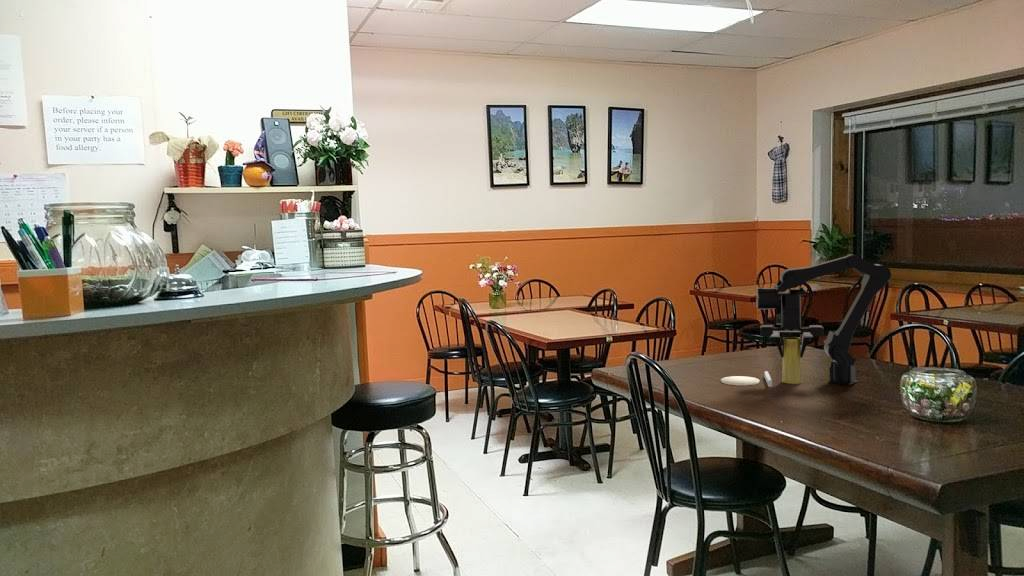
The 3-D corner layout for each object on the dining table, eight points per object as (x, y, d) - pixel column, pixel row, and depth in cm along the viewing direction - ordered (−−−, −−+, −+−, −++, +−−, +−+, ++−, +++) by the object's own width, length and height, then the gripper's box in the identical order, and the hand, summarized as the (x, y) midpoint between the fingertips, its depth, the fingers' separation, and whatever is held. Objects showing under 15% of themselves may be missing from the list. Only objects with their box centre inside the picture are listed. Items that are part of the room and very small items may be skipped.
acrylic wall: (764, 377, 230) (764, 371, 230) (767, 377, 230) (767, 371, 230) (768, 386, 217) (768, 380, 217) (771, 386, 217) (771, 380, 216)
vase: (805, 383, 218) (805, 339, 217) (785, 384, 218) (785, 339, 217) (797, 379, 224) (797, 336, 223) (778, 380, 224) (778, 337, 223)
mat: (766, 380, 225) (766, 379, 225) (746, 387, 217) (746, 385, 217) (734, 376, 234) (734, 374, 234) (713, 382, 226) (713, 380, 226)
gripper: (821, 305, 224) (821, 353, 225) (760, 306, 230) (760, 352, 232) (823, 309, 213) (824, 359, 215) (759, 310, 220) (760, 358, 221)
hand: (791, 357), depth 221 cm, fingers closed on vase, 5 cm apart
